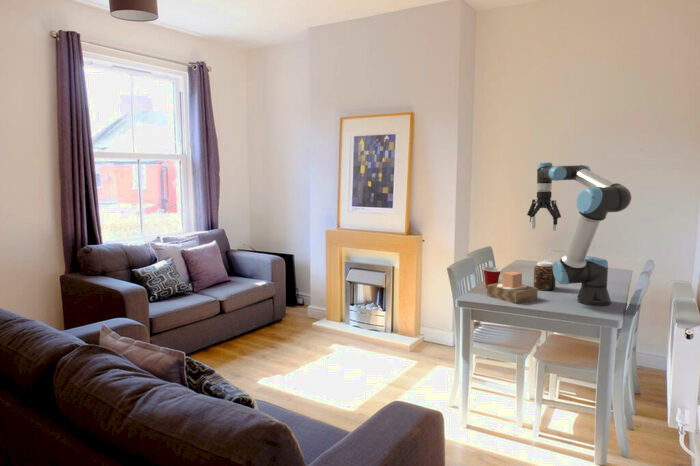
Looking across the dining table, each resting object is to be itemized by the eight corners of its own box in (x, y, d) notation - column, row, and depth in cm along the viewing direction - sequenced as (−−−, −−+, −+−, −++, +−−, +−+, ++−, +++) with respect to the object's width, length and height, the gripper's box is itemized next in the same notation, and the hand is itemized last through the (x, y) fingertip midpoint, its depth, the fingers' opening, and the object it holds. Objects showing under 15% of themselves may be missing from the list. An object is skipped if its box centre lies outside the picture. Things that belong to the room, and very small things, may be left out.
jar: (557, 291, 273) (558, 264, 271) (535, 290, 275) (535, 264, 274) (553, 286, 285) (553, 261, 283) (531, 285, 287) (532, 260, 285)
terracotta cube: (521, 286, 261) (521, 273, 260) (512, 288, 257) (512, 275, 256) (511, 283, 267) (511, 271, 266) (502, 285, 263) (502, 272, 262)
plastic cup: (499, 291, 276) (499, 270, 274) (480, 289, 281) (480, 269, 279) (503, 287, 285) (503, 267, 283) (484, 285, 290) (484, 265, 289)
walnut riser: (537, 299, 258) (537, 287, 257) (515, 303, 250) (516, 291, 249) (507, 291, 275) (507, 280, 274) (487, 295, 267) (487, 284, 266)
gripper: (568, 191, 258) (567, 231, 261) (530, 190, 280) (529, 227, 283) (559, 191, 255) (558, 232, 257) (521, 190, 276) (520, 228, 279)
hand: (543, 229), depth 270 cm, fingers open, 13 cm apart
